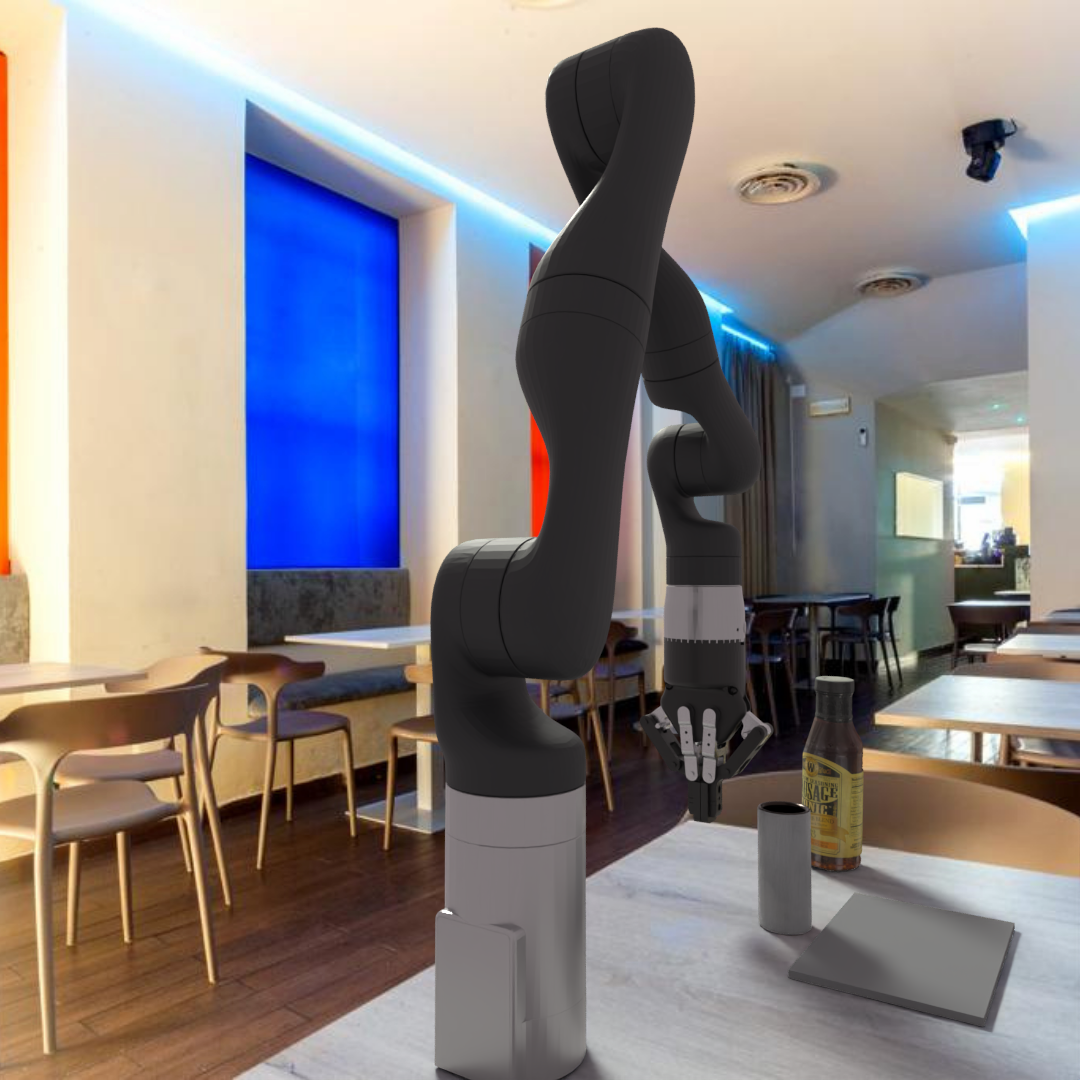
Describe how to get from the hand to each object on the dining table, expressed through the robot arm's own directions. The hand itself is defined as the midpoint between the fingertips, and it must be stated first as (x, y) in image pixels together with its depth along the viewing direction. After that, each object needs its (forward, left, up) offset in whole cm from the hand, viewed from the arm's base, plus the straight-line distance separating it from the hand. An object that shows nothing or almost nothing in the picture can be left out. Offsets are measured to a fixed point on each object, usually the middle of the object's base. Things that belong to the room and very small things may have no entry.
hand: (705, 820), depth 83 cm
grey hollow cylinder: (0, -7, -8) cm, 11 cm away
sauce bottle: (+19, -6, -8) cm, 22 cm away
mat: (0, -18, -8) cm, 19 cm away
